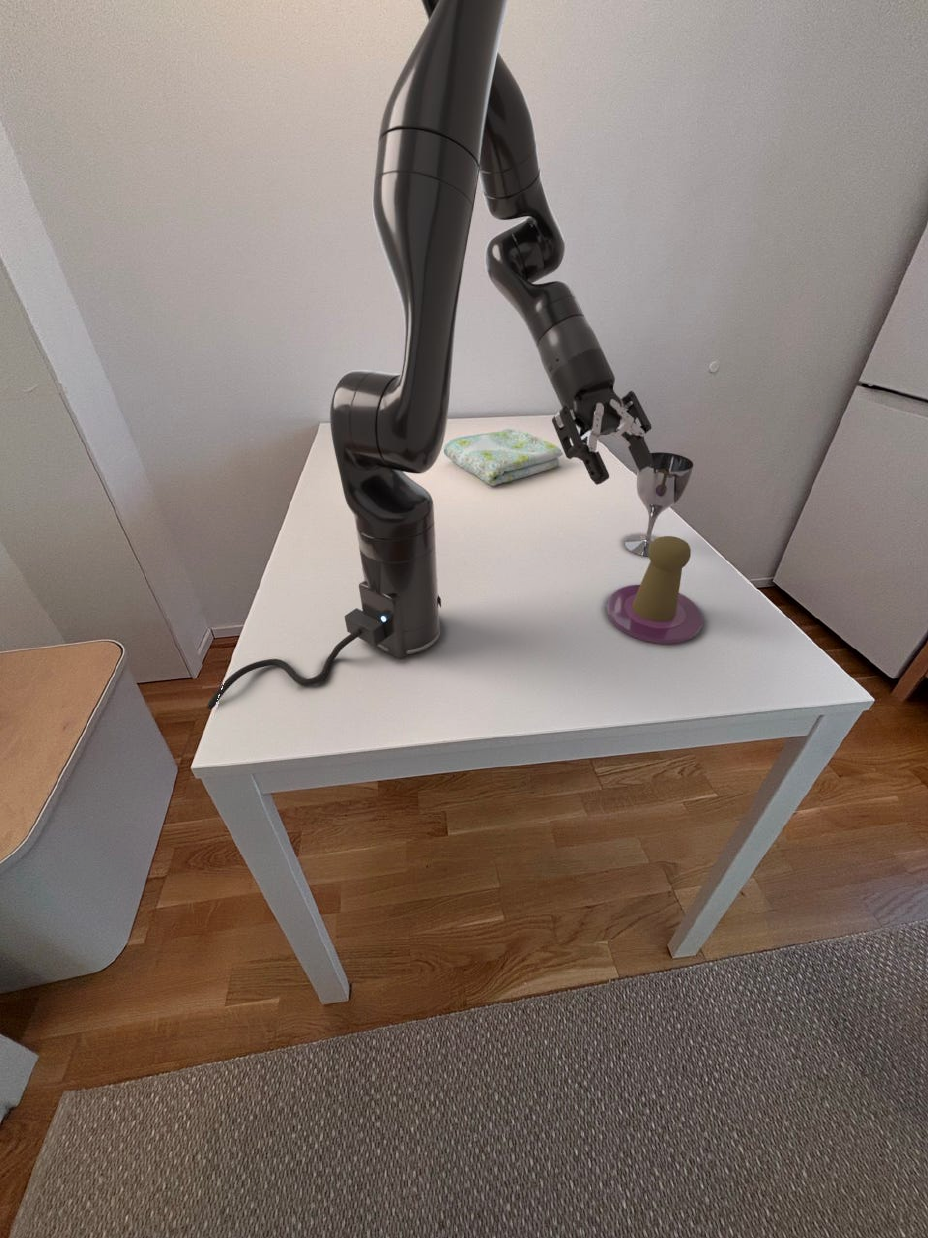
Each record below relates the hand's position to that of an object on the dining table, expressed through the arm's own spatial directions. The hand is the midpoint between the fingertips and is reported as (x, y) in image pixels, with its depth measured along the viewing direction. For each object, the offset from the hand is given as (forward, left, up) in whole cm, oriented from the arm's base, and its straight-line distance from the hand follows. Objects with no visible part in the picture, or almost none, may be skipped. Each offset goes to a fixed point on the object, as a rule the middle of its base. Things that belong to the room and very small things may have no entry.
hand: (625, 473), depth 69 cm
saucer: (-3, -9, -18) cm, 20 cm away
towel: (+31, +39, -18) cm, 53 cm away
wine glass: (+15, -1, -18) cm, 24 cm away
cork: (-3, -9, -17) cm, 20 cm away
